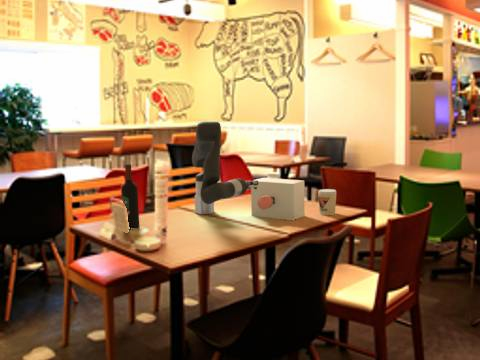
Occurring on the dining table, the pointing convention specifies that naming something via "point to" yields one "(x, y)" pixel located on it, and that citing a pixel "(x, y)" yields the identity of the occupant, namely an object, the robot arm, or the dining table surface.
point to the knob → (265, 202)
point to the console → (279, 198)
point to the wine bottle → (130, 198)
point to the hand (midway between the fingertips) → (255, 182)
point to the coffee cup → (327, 201)
